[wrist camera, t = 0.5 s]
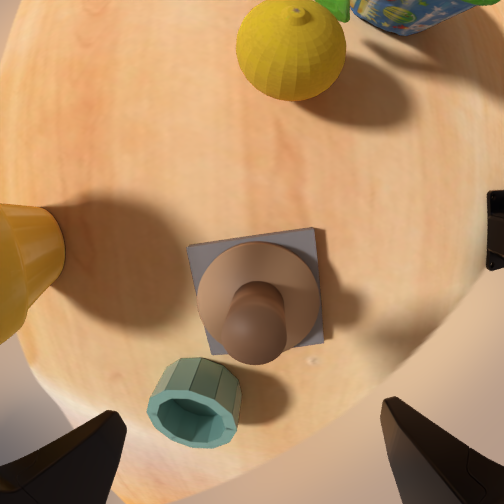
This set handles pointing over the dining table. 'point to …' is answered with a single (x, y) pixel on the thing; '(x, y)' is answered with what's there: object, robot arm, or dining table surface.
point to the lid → (258, 301)
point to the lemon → (291, 48)
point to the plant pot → (26, 261)
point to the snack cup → (401, 12)
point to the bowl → (196, 403)
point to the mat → (291, 239)
